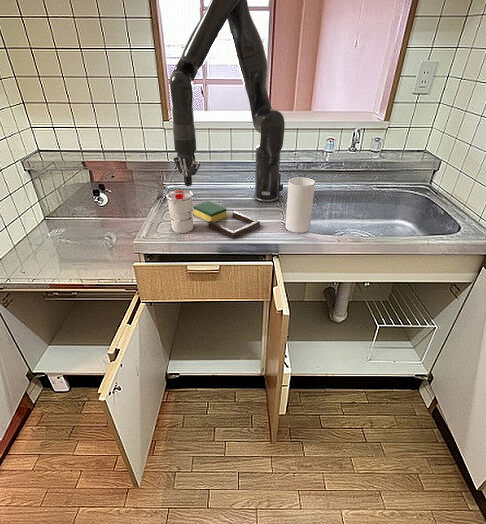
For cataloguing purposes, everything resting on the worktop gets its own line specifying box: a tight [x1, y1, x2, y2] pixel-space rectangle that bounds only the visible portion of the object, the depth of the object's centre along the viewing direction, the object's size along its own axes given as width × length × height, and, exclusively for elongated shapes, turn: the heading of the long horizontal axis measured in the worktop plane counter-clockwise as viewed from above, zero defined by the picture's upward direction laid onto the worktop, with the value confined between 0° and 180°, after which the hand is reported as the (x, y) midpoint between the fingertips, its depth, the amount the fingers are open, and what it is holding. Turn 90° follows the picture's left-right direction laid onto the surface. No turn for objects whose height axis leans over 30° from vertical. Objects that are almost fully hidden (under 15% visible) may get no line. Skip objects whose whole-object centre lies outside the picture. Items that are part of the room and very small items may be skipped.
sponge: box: [192, 200, 228, 223], centre depth 127 cm, size 7×10×3 cm
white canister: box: [165, 189, 194, 234], centre depth 116 cm, size 10×8×12 cm
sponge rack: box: [207, 210, 261, 240], centre depth 120 cm, size 12×12×2 cm
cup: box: [284, 176, 316, 234], centre depth 115 cm, size 8×8×16 cm
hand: (188, 185), depth 130 cm, fingers closed
